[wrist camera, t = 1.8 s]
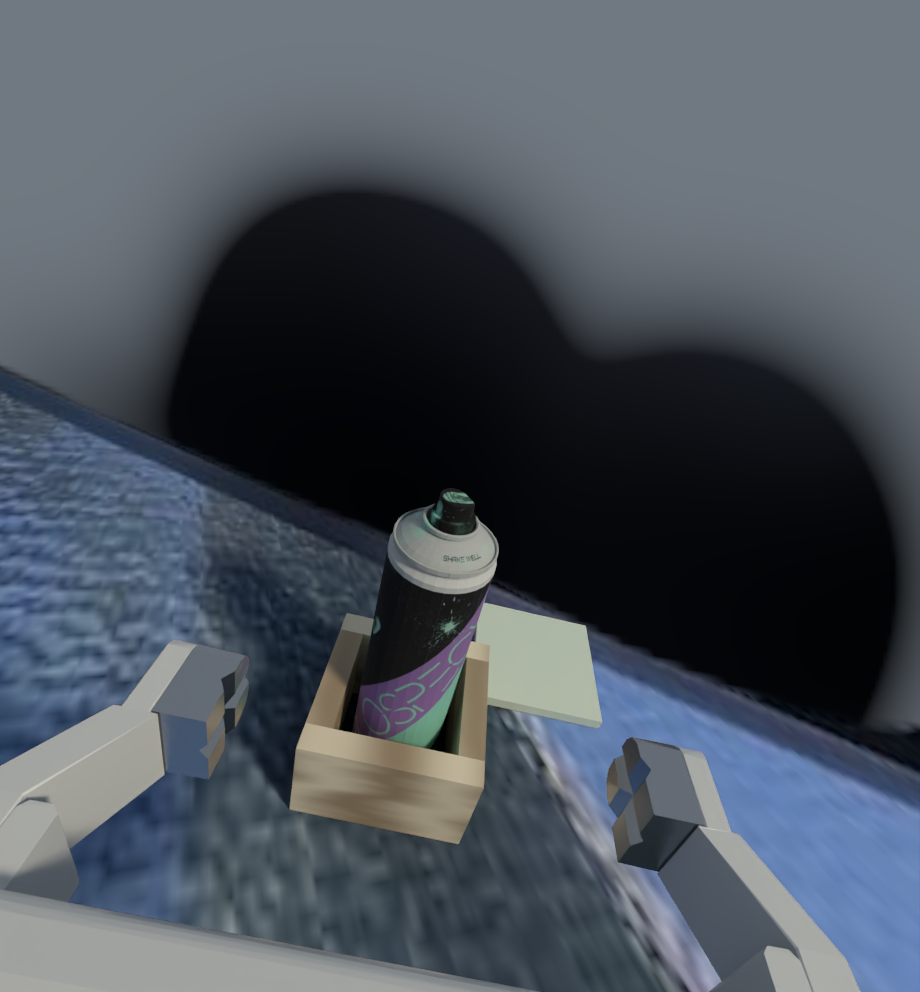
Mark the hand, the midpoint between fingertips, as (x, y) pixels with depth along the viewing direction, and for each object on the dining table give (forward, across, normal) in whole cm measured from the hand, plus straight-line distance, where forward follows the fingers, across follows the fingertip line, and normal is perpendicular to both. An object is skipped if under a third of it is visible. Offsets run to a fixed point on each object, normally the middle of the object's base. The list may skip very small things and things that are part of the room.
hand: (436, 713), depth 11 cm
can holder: (+14, 0, +23) cm, 27 cm away
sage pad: (+24, -10, +23) cm, 35 cm away
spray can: (+14, 0, +23) cm, 27 cm away
